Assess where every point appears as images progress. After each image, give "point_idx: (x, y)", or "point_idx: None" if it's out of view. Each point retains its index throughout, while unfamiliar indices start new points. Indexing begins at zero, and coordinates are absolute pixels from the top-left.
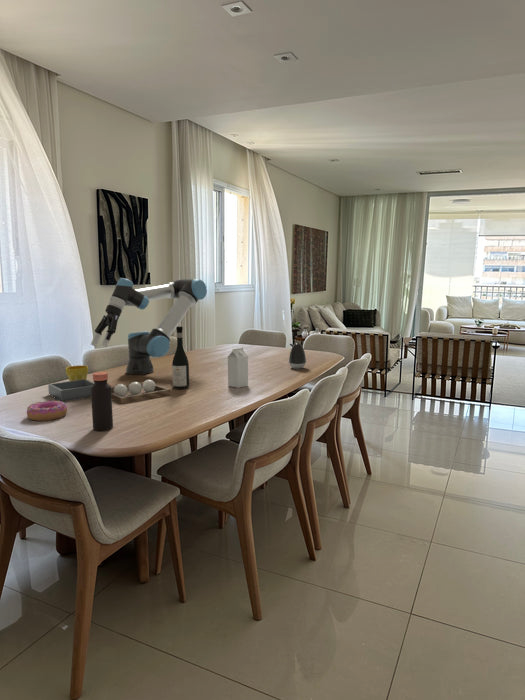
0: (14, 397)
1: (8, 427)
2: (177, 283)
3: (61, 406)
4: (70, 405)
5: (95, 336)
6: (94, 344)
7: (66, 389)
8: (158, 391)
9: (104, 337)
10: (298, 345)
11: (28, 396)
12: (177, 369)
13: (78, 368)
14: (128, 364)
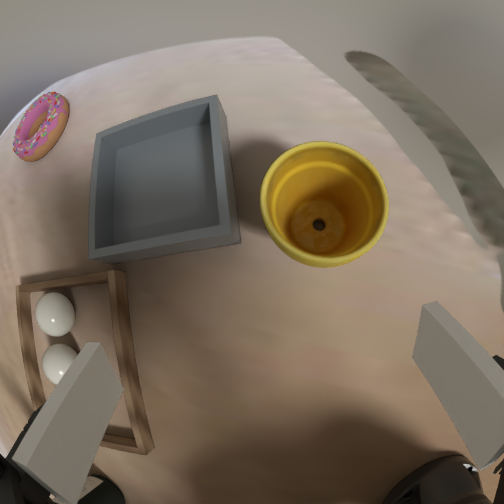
0: (253, 49)
1: (47, 88)
2: None
3: (13, 147)
4: (74, 169)
5: (482, 387)
6: (422, 345)
7: (98, 148)
8: (30, 394)
9: (53, 407)
10: None
11: (242, 72)
12: (55, 497)
13: (376, 221)
14: (453, 480)
